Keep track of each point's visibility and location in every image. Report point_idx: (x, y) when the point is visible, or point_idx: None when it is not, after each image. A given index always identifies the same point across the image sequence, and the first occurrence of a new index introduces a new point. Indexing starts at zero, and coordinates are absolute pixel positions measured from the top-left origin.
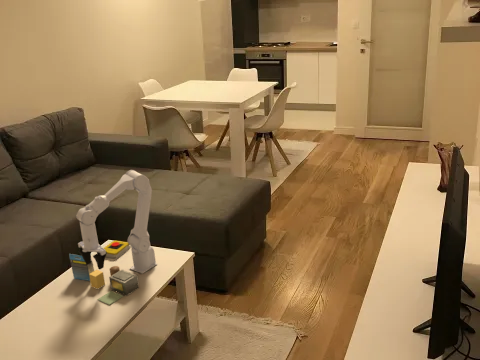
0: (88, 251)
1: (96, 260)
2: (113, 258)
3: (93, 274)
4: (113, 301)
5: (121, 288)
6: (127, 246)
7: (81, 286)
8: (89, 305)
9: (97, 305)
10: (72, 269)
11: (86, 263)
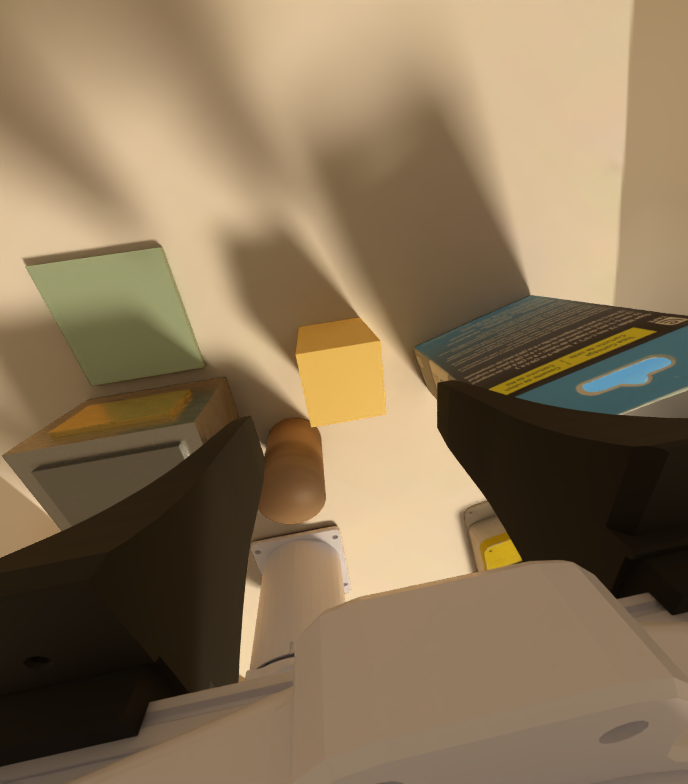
0: (537, 538)
1: (157, 497)
2: (481, 519)
3: (341, 361)
4: (51, 307)
5: (85, 412)
6: None
7: (413, 273)
8: (129, 153)
9: (87, 200)
10: (585, 304)
11: (450, 384)
